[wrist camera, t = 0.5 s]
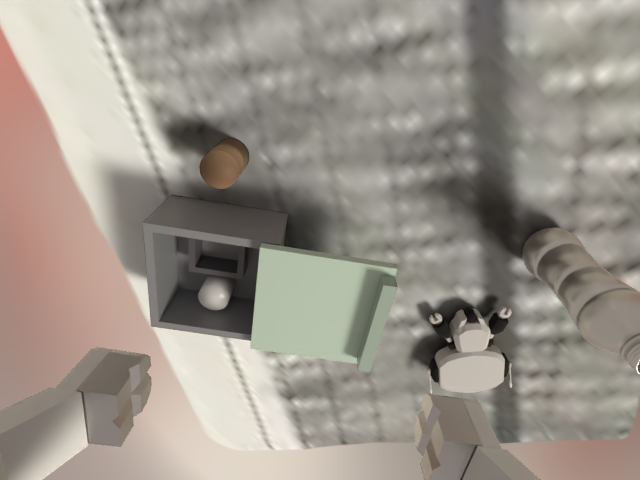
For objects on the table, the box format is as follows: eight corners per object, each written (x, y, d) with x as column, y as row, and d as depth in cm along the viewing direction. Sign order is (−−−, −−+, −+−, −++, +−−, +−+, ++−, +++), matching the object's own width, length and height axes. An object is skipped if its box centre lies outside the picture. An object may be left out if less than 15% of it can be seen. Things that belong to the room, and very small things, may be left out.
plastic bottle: (579, 231, 47) (724, 345, 30) (546, 271, 50) (659, 397, 33) (537, 214, 46) (660, 322, 29) (505, 256, 49) (599, 377, 32)
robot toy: (421, 302, 55) (424, 377, 61) (428, 321, 51) (431, 399, 57) (507, 294, 54) (501, 371, 60) (520, 312, 49) (513, 393, 56)
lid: (261, 242, 40) (256, 257, 37) (395, 264, 41) (399, 279, 38) (251, 342, 47) (247, 360, 45) (366, 359, 48) (367, 377, 45)
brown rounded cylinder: (216, 135, 43) (199, 149, 38) (250, 141, 43) (238, 155, 38) (215, 168, 45) (199, 185, 40) (248, 173, 45) (236, 191, 40)
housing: (171, 194, 47) (142, 222, 40) (288, 213, 47) (280, 244, 40) (174, 288, 54) (151, 326, 47) (276, 304, 55) (267, 343, 48)
